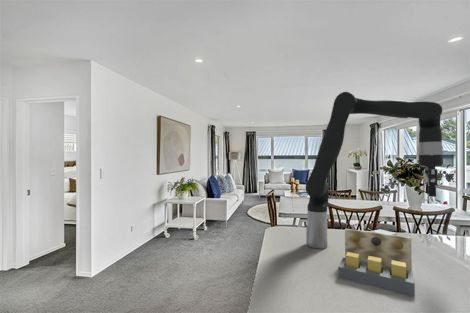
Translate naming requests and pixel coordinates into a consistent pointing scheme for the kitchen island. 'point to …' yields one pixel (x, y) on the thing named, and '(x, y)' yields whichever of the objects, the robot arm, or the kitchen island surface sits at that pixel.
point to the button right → (398, 269)
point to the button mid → (374, 264)
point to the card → (379, 247)
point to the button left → (352, 259)
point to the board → (378, 278)
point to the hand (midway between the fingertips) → (430, 195)
